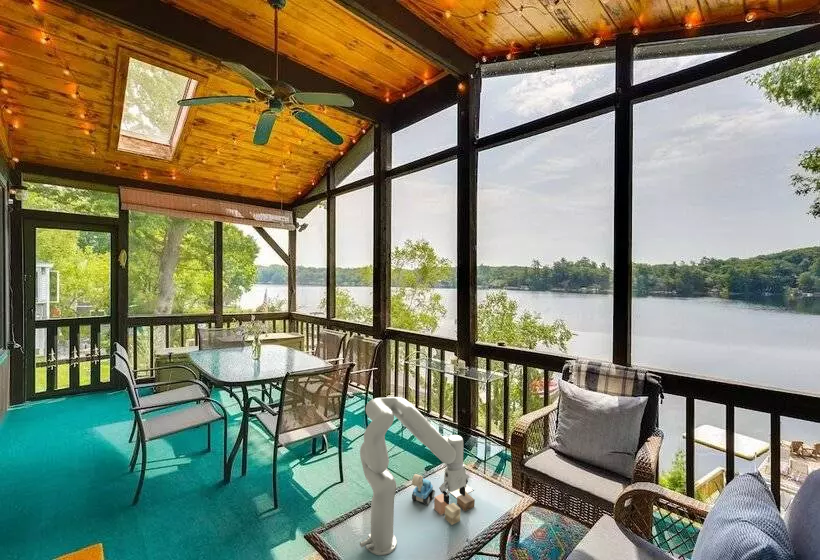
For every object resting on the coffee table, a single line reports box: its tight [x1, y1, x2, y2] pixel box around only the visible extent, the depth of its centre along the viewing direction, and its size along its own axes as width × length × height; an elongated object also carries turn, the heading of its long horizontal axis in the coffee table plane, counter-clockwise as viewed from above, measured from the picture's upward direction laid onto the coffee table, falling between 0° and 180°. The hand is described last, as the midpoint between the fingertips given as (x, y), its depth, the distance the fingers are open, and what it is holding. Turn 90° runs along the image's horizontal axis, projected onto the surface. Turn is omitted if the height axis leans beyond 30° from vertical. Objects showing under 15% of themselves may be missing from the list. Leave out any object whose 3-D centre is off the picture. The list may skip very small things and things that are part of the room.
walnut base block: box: [456, 493, 476, 512], centre depth 185 cm, size 6×6×4 cm
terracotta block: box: [433, 492, 450, 515], centre depth 181 cm, size 5×5×6 cm
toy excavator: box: [411, 473, 436, 506], centre depth 186 cm, size 9×17×17 cm, turn 152°
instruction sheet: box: [446, 483, 474, 499], centre depth 198 cm, size 12×9×1 cm
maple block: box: [444, 502, 462, 526], centre depth 175 cm, size 5×5×6 cm
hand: (454, 498), depth 175 cm, fingers open, 9 cm apart
